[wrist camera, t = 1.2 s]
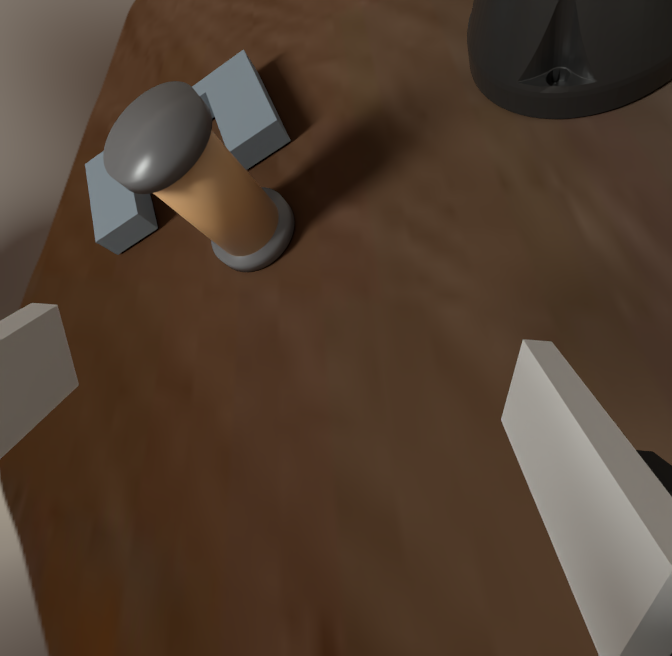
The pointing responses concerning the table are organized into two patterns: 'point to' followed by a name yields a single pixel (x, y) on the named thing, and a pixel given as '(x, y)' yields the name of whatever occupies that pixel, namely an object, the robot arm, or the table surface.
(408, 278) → the table surface
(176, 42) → the table surface
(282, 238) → the bobbin
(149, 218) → the notched board
